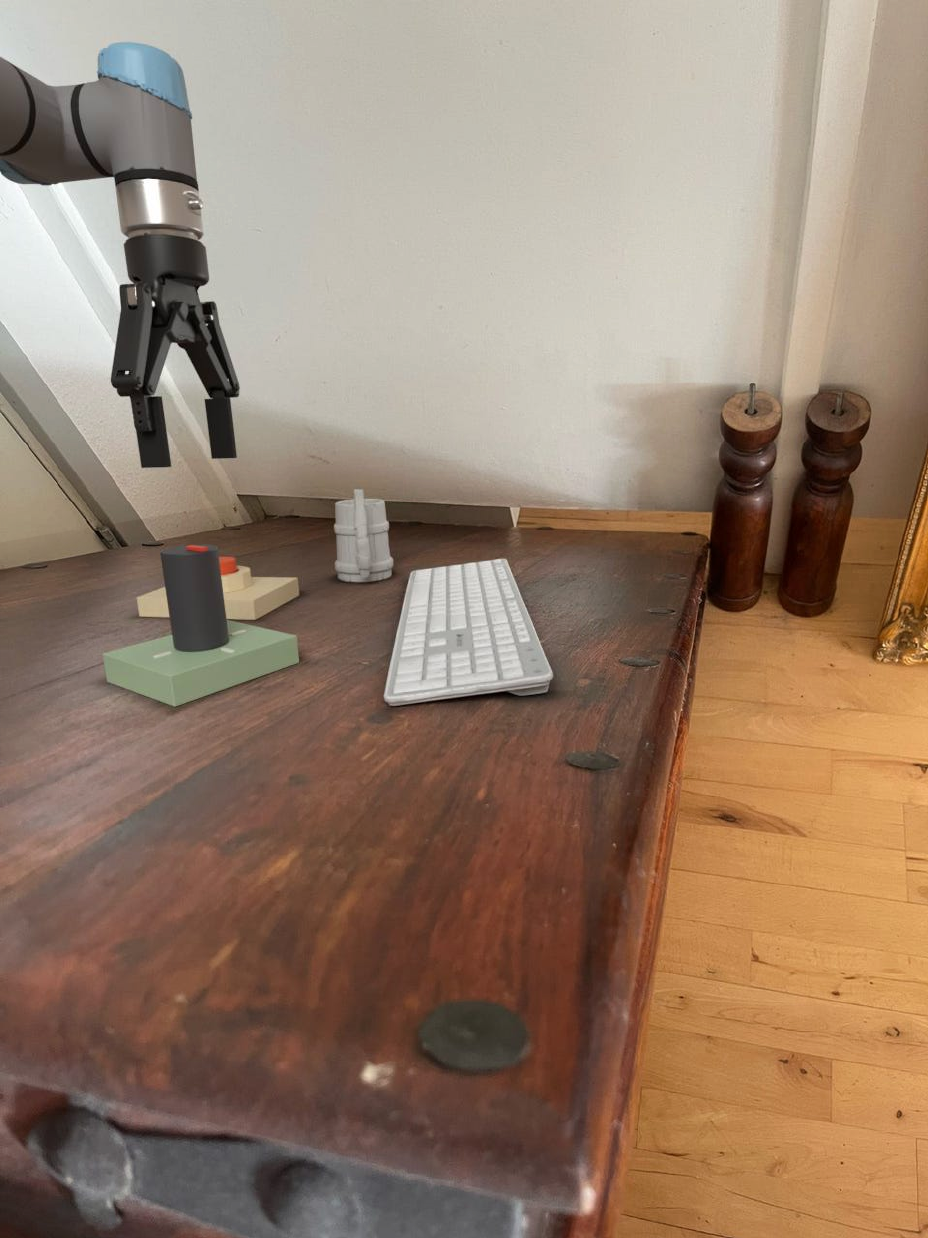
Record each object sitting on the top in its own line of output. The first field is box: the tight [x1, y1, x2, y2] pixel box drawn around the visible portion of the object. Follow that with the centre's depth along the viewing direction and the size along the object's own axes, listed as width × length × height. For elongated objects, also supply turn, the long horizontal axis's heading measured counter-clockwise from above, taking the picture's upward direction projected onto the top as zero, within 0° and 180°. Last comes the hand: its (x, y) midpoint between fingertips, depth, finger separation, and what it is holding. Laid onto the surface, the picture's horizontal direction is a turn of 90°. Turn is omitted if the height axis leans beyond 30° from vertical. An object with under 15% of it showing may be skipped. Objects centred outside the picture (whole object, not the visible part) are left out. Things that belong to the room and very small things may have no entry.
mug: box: [333, 488, 394, 583], centre depth 95 cm, size 8×12×12 cm, turn 8°
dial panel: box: [102, 619, 300, 708], centre depth 63 cm, size 10×12×3 cm
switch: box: [219, 556, 237, 575], centre depth 84 cm, size 4×4×2 cm
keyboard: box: [383, 558, 554, 707], centre depth 75 cm, size 44×12×2 cm, turn 1°
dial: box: [159, 544, 229, 651], centre depth 61 cm, size 4×4×8 cm
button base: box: [136, 565, 300, 621], centre depth 85 cm, size 14×11×4 cm
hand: (193, 462), depth 78 cm, fingers open, 13 cm apart
